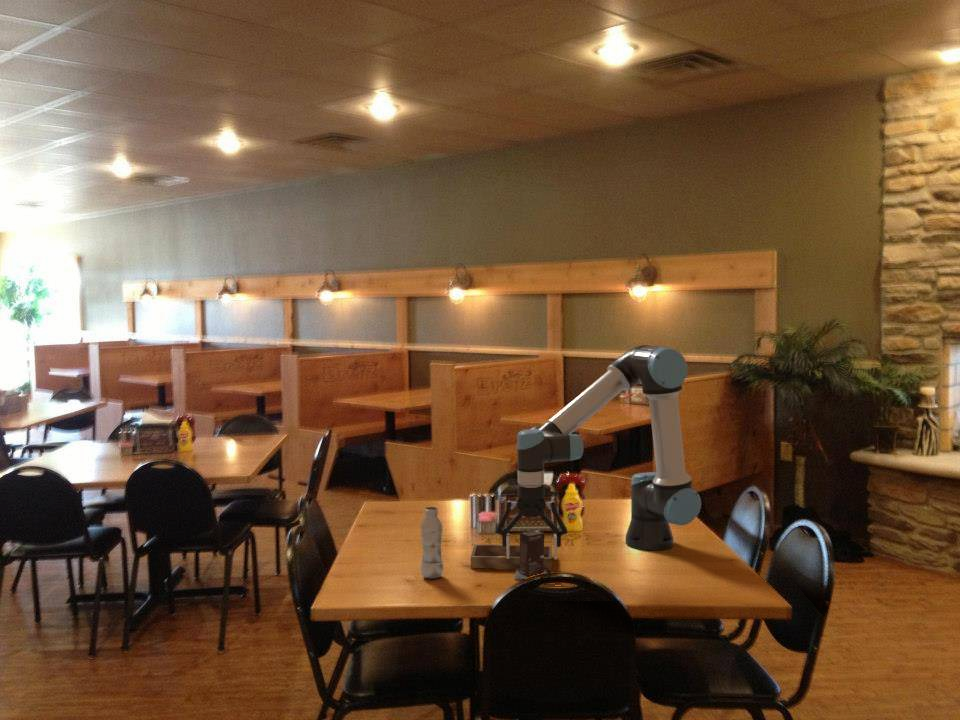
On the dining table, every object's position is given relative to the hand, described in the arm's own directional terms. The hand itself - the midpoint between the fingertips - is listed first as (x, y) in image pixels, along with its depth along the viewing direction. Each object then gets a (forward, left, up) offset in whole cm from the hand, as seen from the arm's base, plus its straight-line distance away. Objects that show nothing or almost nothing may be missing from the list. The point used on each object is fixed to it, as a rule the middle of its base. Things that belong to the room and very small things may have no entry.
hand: (531, 557), depth 249 cm
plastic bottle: (+28, +4, -5) cm, 29 cm away
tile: (0, 0, -5) cm, 5 cm away
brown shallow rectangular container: (+6, -11, -5) cm, 13 cm away
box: (0, 0, -5) cm, 5 cm away
